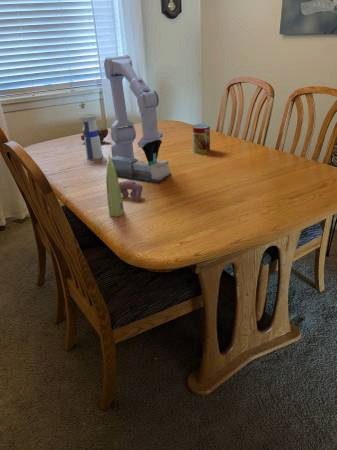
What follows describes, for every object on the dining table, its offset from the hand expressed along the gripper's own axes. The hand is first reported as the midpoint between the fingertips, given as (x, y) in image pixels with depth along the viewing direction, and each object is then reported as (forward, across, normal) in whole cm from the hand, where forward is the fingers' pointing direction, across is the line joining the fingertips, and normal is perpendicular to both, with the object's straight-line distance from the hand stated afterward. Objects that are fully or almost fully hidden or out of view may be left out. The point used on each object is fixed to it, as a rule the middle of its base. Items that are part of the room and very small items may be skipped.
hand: (152, 160), depth 148 cm
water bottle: (+8, +12, +41) cm, 44 cm away
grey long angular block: (+7, 0, +7) cm, 10 cm away
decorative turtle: (+8, +31, +56) cm, 65 cm away
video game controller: (+8, -20, -2) cm, 22 cm away
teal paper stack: (+5, 0, +4) cm, 6 cm away
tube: (+8, -32, -6) cm, 33 cm away
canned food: (+8, +38, -3) cm, 39 cm away
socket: (+7, 0, -3) cm, 8 cm away
